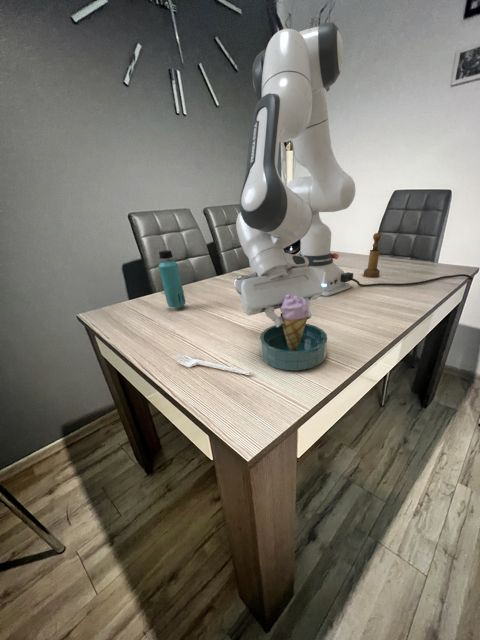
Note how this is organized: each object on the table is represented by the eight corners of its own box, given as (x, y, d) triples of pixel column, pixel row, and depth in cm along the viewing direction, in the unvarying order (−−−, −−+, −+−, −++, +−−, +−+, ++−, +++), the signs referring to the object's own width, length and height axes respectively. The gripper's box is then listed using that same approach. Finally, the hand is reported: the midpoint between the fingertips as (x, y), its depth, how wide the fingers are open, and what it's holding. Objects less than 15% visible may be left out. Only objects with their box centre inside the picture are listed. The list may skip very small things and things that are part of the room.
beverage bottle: (182, 311, 96) (169, 252, 86) (164, 311, 97) (150, 252, 87) (189, 305, 101) (179, 248, 91) (173, 305, 103) (161, 249, 93)
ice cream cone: (275, 349, 68) (274, 290, 61) (297, 343, 70) (298, 286, 63) (288, 362, 63) (288, 299, 55) (311, 355, 65) (314, 294, 57)
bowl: (301, 334, 76) (301, 317, 73) (339, 359, 64) (341, 340, 61) (250, 349, 70) (249, 332, 67) (282, 380, 58) (282, 360, 55)
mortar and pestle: (364, 277, 121) (370, 234, 112) (362, 274, 127) (367, 232, 118) (380, 277, 120) (387, 233, 111) (377, 274, 126) (384, 231, 117)
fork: (247, 380, 58) (246, 372, 57) (172, 363, 66) (171, 357, 65) (253, 372, 61) (252, 364, 60) (181, 357, 68) (179, 350, 67)
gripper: (234, 269, 58) (257, 327, 55) (312, 256, 66) (336, 306, 63) (228, 285, 63) (249, 338, 60) (301, 271, 71) (323, 318, 68)
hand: (294, 322), depth 62 cm, fingers closed on ice cream cone, 6 cm apart
